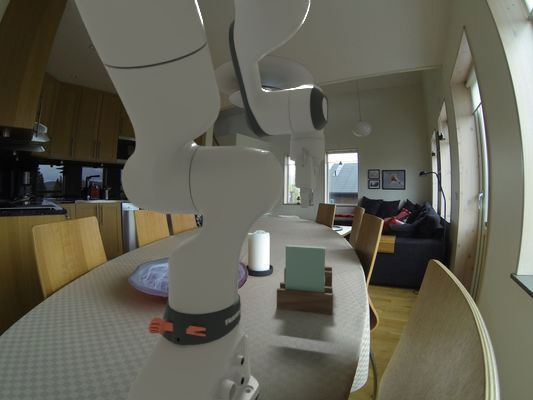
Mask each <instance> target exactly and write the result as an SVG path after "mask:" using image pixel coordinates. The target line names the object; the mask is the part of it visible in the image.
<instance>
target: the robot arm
mask: <svg viewBox="0 0 533 400" xmlns="http://www.w3.org/2000/svg"><path fill="white" fill-rule="evenodd" d="M74 2H75V5H76V8H77V9H78V12H79V15H80V17H81V20H82V22H83V24H84V26H85V29H86V30H87V34H88V36H89V37H90V39H91V42H92V45H93V47H94V48H95V50H96V52H97V55H98V56H99V58H100V60H101V62H102V64H103V67H104V68H105V69H106V72H107V74H108V76H109V78H110V80H111V82H112V83H113V86H114V88H115V90H116V92H117V94H118V96H119V98H120V100H121V103H122V104H123V107H124V108H125V111H126V113H127V115H128V117H129V121H130V123H131V124H132V128H133V131H134V136H135V149H134V152H133V153H132V154H131V155H130V157H128V159H127V160H126V161H125V164H124V167H123V170H122V172H121V186H122V190H123V193H124V195H125V196H126V198H127V200H128V201H129V202H130V203H131V204H132V206H134V207H136V208H139V209H140V210H141V209H142V210H146V211H150V212H153V213H159V214H163V215H198V216H199V215H200V216H203V221H202V226H201V229H200V231H199V233H196V234H194V235H191V236H190V237H188V238H187V239H184V240H183V241H181V242H180V243H178V244H177V245H176V246H175V247H174V248H173V250H172V251H171V253H170V255H169V257H168V268H167V269H168V271H167V272H168V274H167V275H168V278H167V279H168V283H167V284H168V286H167V287H168V299H167V301H166V304H165V307H164V310H163V314H162V318H159V317H154V318H152V319H151V321H150V323H149V325H148V332H149V333H150V334H159V336H158V339H157V340H156V342H155V344H154V346H152V349H151V351H150V353H149V355H148V356H147V358H146V360H145V362H144V363H143V364H142V366H141V369H140V371H139V372H138V374H137V376H136V378H135V379H134V381H133V383H132V384H131V387H130V389H129V391H128V394H127V398H126V400H256V398H257V396H259V393H260V384H259V382H258V380H257V379H256V378H255V377H254V376H253V375H252V374H251V353H250V340H249V336H248V335H247V333H246V332H245V330H244V328H243V327H242V325H241V322H240V321H241V317H242V315H241V313H242V302H241V295H240V294H239V271H240V269H239V268H240V260H241V259H240V258H241V253H242V249H243V245H244V244H245V239H246V238H247V236H248V234H249V232H250V231H251V230H252V228H253V227H254V226H255V224H256V223H257V222H258V221H259V220H260V219H261V218H262V217H264V216H265V215H266V214H267V213H269V212H270V211H272V209H273V208H275V206H276V205H277V204H278V202H279V201H280V198H281V197H282V194H283V192H284V187H285V176H284V170H283V167H282V165H281V163H280V161H279V159H278V158H277V157H276V155H275V154H274V153H273V152H272V151H270V150H266V149H261V148H257V147H251V146H245V145H225V146H224V145H220V146H219V145H217V146H213V145H211V146H209V145H208V146H203V145H198V144H197V143H196V142H195V141H194V140H195V139H197V138H199V137H200V136H202V135H204V133H205V132H206V133H207V131H208V130H209V129H210V128H211V127H212V126H213V125H214V124H215V122H216V121H217V119H218V117H219V114H220V111H221V106H222V105H221V95H220V90H219V86H218V82H217V78H216V73H215V70H214V64H213V61H212V60H213V59H212V56H211V51H210V46H209V42H208V39H207V34H206V29H205V25H204V22H203V21H204V20H203V18H202V14H201V11H200V7H199V4H198V0H74ZM233 3H234V9H235V17H234V19H233V20H232V21H231V23H230V24H229V27H228V46H229V52H230V57H231V62H232V66H233V71H234V74H235V77H236V80H237V81H236V82H237V85H238V90H239V92H240V97H241V101H242V104H243V111H244V118H245V122H246V123H245V124H246V127H247V128H248V129H249V131H250V132H251V133H253V134H254V135H255V136H256V137H258V138H266V137H273V136H278V135H290V139H289V160H290V161H293V162H294V169H295V170H294V172H295V173H294V176H295V177H294V184H295V185H294V186H295V188H296V189H299V198H300V207H301V208H303V209H307V208H309V207H311V206H312V199H313V190H316V188H317V182H318V174H319V167H320V164H321V162H322V161H325V159H326V157H325V153H326V152H325V151H326V148H325V146H326V145H325V144H326V143H325V142H326V138H325V135H324V129H325V127H326V126H327V124H328V123H329V100H328V97H327V95H325V94H324V92H323V89H322V88H321V87H320V86H318V85H316V84H312V83H308V84H307V83H305V84H300V85H299V86H297V87H295V88H288V89H282V90H280V89H279V90H274V91H273V90H271V91H270V90H267V89H266V90H265V89H263V88H262V81H261V75H260V69H259V64H258V62H259V61H261V60H262V59H263V58H264V57H265V56H267V55H269V54H270V53H271V52H273V51H274V50H276V49H278V48H280V47H281V46H283V45H284V44H285V43H287V42H288V41H290V39H291V38H292V37H293V36H295V34H296V33H297V31H298V30H299V29H300V28H301V26H302V24H304V21H305V19H306V17H307V15H308V12H309V10H310V5H311V0H233Z"/></svg>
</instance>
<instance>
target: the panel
mask: <svg viewBox="0 0 533 400" xmlns="http://www.w3.org/2000/svg"><path fill="white" fill-rule="evenodd" d="M325 266H326V246H314V245H313V246H312V245H297V244H286V245H285V267H284V268H285V289H292V290H302V291H312V292H322V293H324V286H325Z"/></svg>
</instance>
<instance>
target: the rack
mask: <svg viewBox="0 0 533 400" xmlns="http://www.w3.org/2000/svg"><path fill="white" fill-rule="evenodd" d="M283 273H284V275H283V281H281V282H279V287H277V288H276V310H284V311H291V312H292V311H293V312H301V313H307V314H308V313H310V314H317V315H326V316H333V305H334V303H333V300H334V297H333V296H334V293H333V267H332V266H326V265H325V286H324V293H322V292H312V291H302V290H292V289H285V267H284V269H283Z"/></svg>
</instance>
